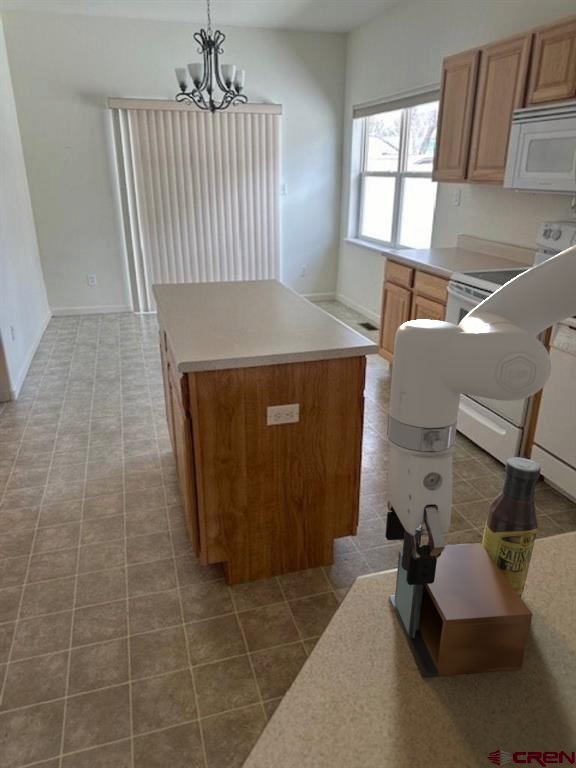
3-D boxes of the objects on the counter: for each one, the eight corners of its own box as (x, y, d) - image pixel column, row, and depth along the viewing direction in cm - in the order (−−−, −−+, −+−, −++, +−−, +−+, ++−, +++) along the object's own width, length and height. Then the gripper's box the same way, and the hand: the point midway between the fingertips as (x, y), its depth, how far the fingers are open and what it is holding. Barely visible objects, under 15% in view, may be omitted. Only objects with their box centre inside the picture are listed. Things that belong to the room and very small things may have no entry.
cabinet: (472, 591, 74) (480, 542, 71) (521, 669, 62) (532, 613, 59) (388, 597, 73) (393, 548, 70) (421, 677, 60) (428, 621, 58)
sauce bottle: (491, 612, 70) (514, 479, 64) (465, 581, 76) (483, 456, 69) (533, 603, 72) (560, 472, 65) (504, 573, 78) (526, 450, 71)
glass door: (403, 600, 72) (412, 509, 67) (420, 638, 65) (431, 540, 61) (389, 601, 71) (397, 510, 67) (404, 639, 65) (414, 541, 61)
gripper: (488, 464, 53) (466, 607, 59) (425, 401, 69) (414, 518, 75) (414, 468, 52) (400, 612, 58) (369, 403, 68) (361, 521, 74)
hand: (408, 558), depth 66 cm, fingers open, 8 cm apart
